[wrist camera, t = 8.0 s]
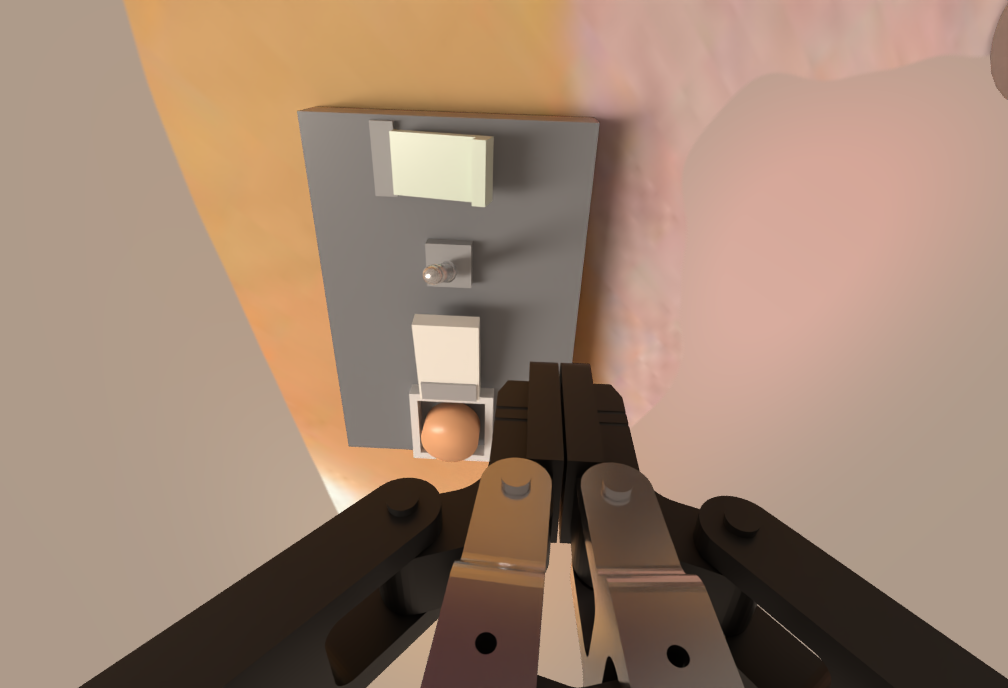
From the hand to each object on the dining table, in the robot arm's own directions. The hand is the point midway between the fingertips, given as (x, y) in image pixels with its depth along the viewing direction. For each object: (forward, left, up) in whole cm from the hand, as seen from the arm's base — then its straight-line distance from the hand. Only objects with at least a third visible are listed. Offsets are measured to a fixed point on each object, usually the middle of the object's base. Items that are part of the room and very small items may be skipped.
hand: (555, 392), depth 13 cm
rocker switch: (+6, +12, -21) cm, 24 cm away
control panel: (+6, +9, -25) cm, 27 cm away
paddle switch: (+6, -1, -21) cm, 22 cm away
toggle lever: (+6, +5, -20) cm, 22 cm away
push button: (+6, +19, -22) cm, 29 cm away
